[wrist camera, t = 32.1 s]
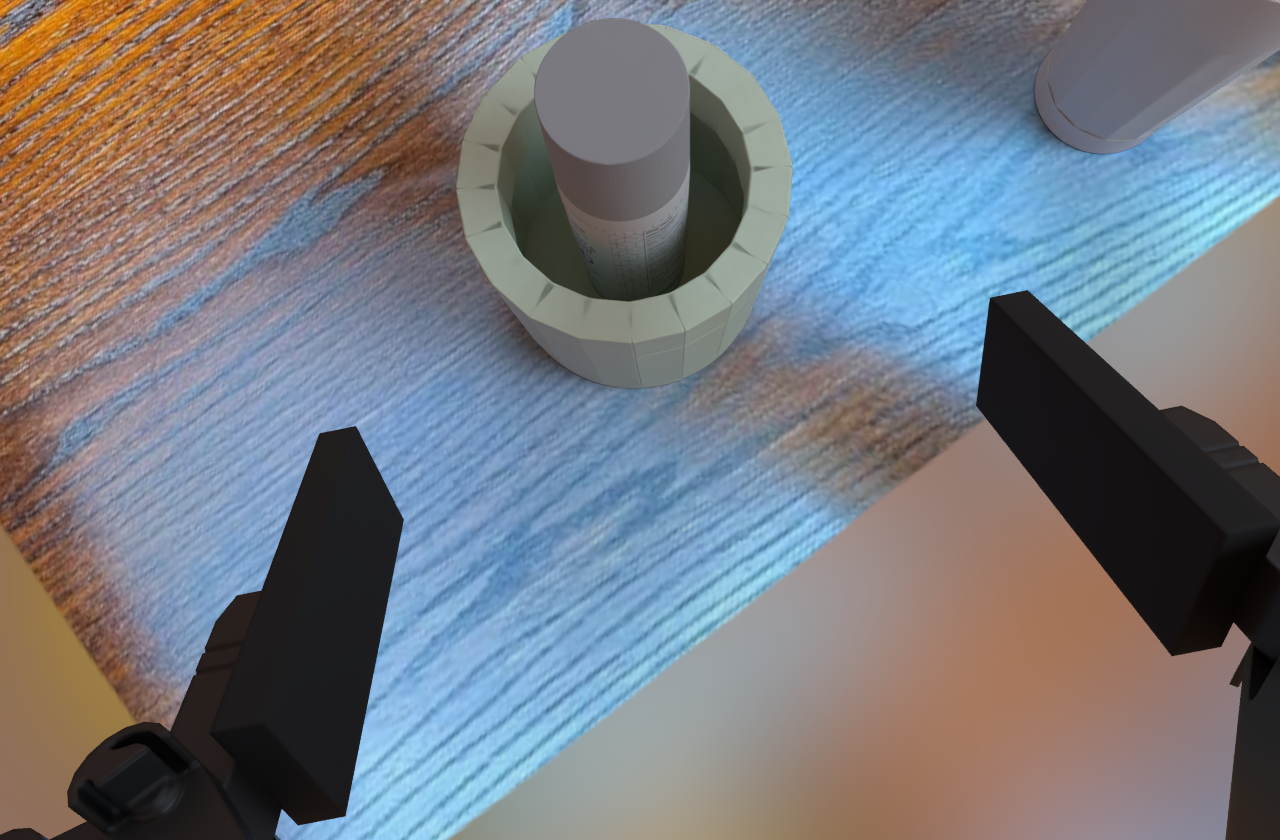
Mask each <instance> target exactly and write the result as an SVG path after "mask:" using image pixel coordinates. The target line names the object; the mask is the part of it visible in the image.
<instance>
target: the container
mask: <svg viewBox="0 0 1280 840" xmlns="http://www.w3.org/2000/svg"><path fill="white" fill-rule="evenodd" d="M534 102H535V108H536V112H537V116H538V119H539V123H540V126H541V130H542V133H543V137H544V141H545V144H546V148H547V151H548V155H549V158H550V162H551V165H552V169H553V172H554V176H555V179H556V184H557V187H558V191H559V193H560V196H561V199H562V202H563V205H564V208H565V211H566V213H567V216H568V219H569V222H570V225H571V228H572V231H573V234H574V236H575V239H576V242H577V245H578V248H579V251H580V254H581V256H582V259H583V262H584V265H585V268H586V271H587V274H588V276H589V279H590V281H591V283H592V285H593V287H594V289H595V290H596V292H597V293H598V294H599V295H600V296H601V297H602V298H603V299H606V300H617V301H628V302H631V301H635V300H640V299H645V298H649V297H654V296H658V295H663V294H667V293H670V292H672V291H674V290H675V289H677V287H678V285H679V283H680V281H681V279H682V276H683V271H684V264H685V248H686V231H687V214H688V197H689V179H690V84H689V77H688V72H687V69H686V66H685V63H684V61H683V59H682V57H681V55H680V54H679V52H678V51H677V49H676V48H675V47H674V45H673V44H672V43H671V42H670V41H669V40H668V39H667V38H666V37H665V36H663V35H662V34H661V33H659V32H658V31H656V30H655V29H653V28H651V27H650V26H647V25H645V24H642V23H640V22H637V21H633V20H628V19H619V18H608V19H600V20H595V21H591V22H588V23H585V24H582V25H580V26H578V27H576V28H574V29H573V30H571V31H569V32H568V33H566V34H565V35H563V36H562V37H561V38H560V39H559V40H558V41H557V42H556V43H555V44H554V45H553V46H552V47H551V48H550V50H549V51H548V52H547V54H546V55H545V57H544V58H543V60H542V62H541V64H540V67H539V69H538V72H537V75H536V80H535V85H534Z"/></svg>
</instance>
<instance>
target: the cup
mask: <svg viewBox="0 0 1280 840" xmlns="http://www.w3.org/2000/svg"><path fill="white" fill-rule="evenodd" d="M1278 50H1280V0H1087V1H1086V3H1085V4H1084V6H1083V7H1082V9H1081V10H1080V12H1079V13H1078V15H1077V16H1076V18H1075V19H1074V21H1073V22H1072V23H1071V25H1070V26H1069V28H1068V29H1067V31H1066V32H1065V34H1064V35H1063V37H1062V38H1061V39H1060V40H1059V41H1058V43H1057V44H1056V45H1055V46H1054V48H1053V49H1052V50H1051V51H1050V52H1049V54H1048V55H1047V56H1046V57H1045V59H1044V60H1043V62H1042V64H1041V66H1040V68H1039V70H1038V73H1037V76H1036V80H1035V100H1036V105H1037V108H1038V111H1039V113H1040V116H1041V118H1042V119H1043V121H1044V123H1045V124H1046V125H1047V127H1048V128H1049V129H1050V130H1051V131H1052V132H1053V133H1054V134H1055V135H1056V136H1057V137H1058V138H1059V139H1061V140H1062V141H1063V142H1065V143H1067V144H1068V145H1070V146H1072V147H1074V148H1077V149H1079V150H1082V151H1086V152H1090V153H1097V154H1111V153H1118V152H1122V151H1125V150H1128V149H1131V148H1133V147H1135V146H1137V145H1139V144H1140V143H1142V142H1143V141H1145V140H1146V139H1147V138H1148V137H1150V136H1151V135H1152V134H1153V133H1155V132H1156V131H1157V130H1159V129H1160V128H1161V127H1162V126H1164V125H1165V124H1167V123H1168V122H1170V121H1171V120H1173V119H1175V118H1176V117H1178V116H1179V115H1181V114H1182V113H1184V112H1185V111H1187V110H1188V109H1190V108H1191V107H1193V106H1194V105H1196V104H1197V103H1199V102H1201V101H1202V100H1204V99H1205V98H1207V97H1208V96H1210V95H1211V94H1213V93H1214V92H1216V91H1217V90H1219V89H1220V88H1222V87H1223V86H1225V85H1226V84H1228V83H1230V82H1231V81H1233V80H1234V79H1236V78H1237V77H1239V76H1240V75H1242V74H1243V73H1245V72H1246V71H1248V70H1249V69H1251V68H1252V67H1254V66H1256V65H1257V64H1259V63H1260V62H1262V61H1263V60H1265V59H1266V58H1268V57H1269V56H1271V55H1272V54H1274V53H1275V52H1277V51H1278Z"/></svg>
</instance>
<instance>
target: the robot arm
mask: <svg viewBox="0 0 1280 840" xmlns="http://www.w3.org/2000/svg"><path fill="white" fill-rule="evenodd" d="M976 406H977V407H978V409H979V410H980V411H981V412H982V414H983V415H984V416H985V418H986V419H987V420H988V421H989V423H990V424H991V425H992V426H993V428H994V429H995V430H996V431H997V433H998V434H999V435H1000V437H1001V438H1002V439H1003V441H1004V442H1005V443H1006V444H1007V446H1008V447H1009V448H1010V450H1011V451H1012V452H1013V453H1014V454H1015V456H1016V457H1017V458H1018V460H1019V461H1020V462H1021V464H1022V465H1023V466H1024V467H1025V469H1026V470H1027V471H1028V472H1029V474H1030V475H1031V476H1032V478H1033V479H1034V480H1035V481H1036V483H1037V484H1038V485H1039V487H1040V488H1041V489H1042V491H1043V492H1044V493H1045V494H1046V496H1047V497H1048V498H1049V499H1050V501H1051V502H1052V503H1053V505H1054V506H1055V507H1056V508H1057V510H1058V511H1059V512H1060V514H1061V515H1062V516H1063V517H1064V519H1065V520H1066V521H1067V523H1068V524H1069V525H1070V526H1071V528H1072V529H1073V530H1074V531H1075V533H1076V534H1077V535H1078V536H1079V538H1080V539H1081V540H1082V542H1083V543H1084V544H1085V546H1086V547H1087V548H1088V549H1089V551H1090V552H1091V553H1092V554H1093V556H1094V557H1095V558H1096V560H1097V561H1098V562H1099V563H1100V565H1101V566H1102V567H1103V569H1104V570H1105V571H1106V572H1107V574H1108V575H1109V576H1110V578H1111V579H1112V580H1113V581H1114V583H1115V584H1116V585H1117V586H1118V588H1119V589H1120V590H1121V592H1122V593H1123V594H1124V595H1125V597H1126V598H1127V599H1128V601H1129V602H1130V603H1131V604H1132V605H1133V607H1134V608H1135V610H1136V611H1137V612H1138V613H1139V615H1140V616H1141V617H1142V619H1143V620H1144V621H1145V622H1146V624H1147V625H1148V626H1149V627H1150V629H1151V630H1152V631H1153V633H1154V634H1155V635H1156V636H1157V638H1158V639H1159V640H1160V642H1161V643H1162V644H1163V645H1164V647H1165V648H1166V649H1167V650H1168V652H1169V653H1170V654H1171V656H1175V655H1181V654H1186V653H1191V652H1197V651H1201V650H1207V649H1212V648H1217V647H1221V646H1222V644H1223V642H1224V640H1225V638H1226V636H1227V634H1228V632H1229V630H1230V628H1231V626H1232V624H1233V622H1234V623H1235V624H1236V625H1237V626H1238V627H1239V629H1240V630H1241V631H1242V632H1243V633H1244V634H1245V635H1246V636H1247V637H1248V639H1249V640H1250V641H1251V644H1250V645H1249V647H1248V649H1247V651H1246V653H1245V655H1244V657H1243V659H1242V660H1241V662H1240V664H1239V666H1238V668H1237V670H1236V672H1235V674H1234V676H1233V678H1232V680H1231V682H1230V685H1233V686H1236V687H1239V685H1240V683H1241V681H1242V687H1241V697H1240V706H1239V716H1238V725H1237V735H1236V744H1235V754H1234V763H1233V773H1232V782H1231V793H1230V801H1229V811H1228V820H1227V830H1226V840H1280V477H1279V476H1278V475H1277V474H1276V473H1275V472H1273V471H1272V470H1271V469H1270V468H1269V467H1267V465H1265V464H1264V463H1259V462H1258V458H1257V457H1256V456H1255V455H1254V454H1252V453H1251V452H1250V451H1249V450H1248V449H1247V448H1245V447H1244V446H1239V442H1238V441H1237V440H1236V439H1235V438H1234V437H1232V436H1231V435H1230V434H1229V433H1228V432H1227V431H1225V430H1224V429H1223V428H1222V427H1221V426H1219V425H1218V424H1217V423H1216V422H1215V421H1213V420H1211V419H1209V418H1207V417H1204V416H1202V415H1200V414H1198V413H1196V412H1194V411H1192V410H1189V409H1188V408H1185V407H1183V406H1178V407H1173V408H1168V409H1164V410H1158V409H1157V408H1156V407H1155V406H1154V405H1153V404H1152V403H1151V402H1150V401H1148V400H1147V399H1146V398H1145V397H1144V396H1143V395H1142V394H1141V393H1140V392H1139V391H1138V390H1137V389H1135V388H1134V387H1133V386H1132V385H1131V384H1130V383H1129V382H1128V381H1127V380H1125V379H1124V378H1123V377H1122V376H1121V375H1120V374H1119V373H1118V372H1117V371H1116V370H1115V369H1113V368H1112V367H1111V366H1110V365H1109V364H1108V363H1107V362H1106V361H1105V360H1104V359H1102V358H1101V357H1100V356H1099V355H1098V354H1097V353H1096V352H1095V351H1094V350H1093V349H1091V348H1090V347H1089V346H1088V345H1087V344H1086V343H1085V342H1084V341H1083V340H1082V339H1081V338H1079V337H1078V336H1077V335H1076V334H1075V333H1074V332H1073V331H1072V330H1071V329H1070V328H1068V327H1067V326H1066V325H1065V324H1064V323H1063V322H1062V321H1061V320H1060V319H1059V318H1057V317H1056V316H1055V315H1054V314H1053V313H1052V312H1051V311H1050V310H1049V309H1048V308H1046V307H1045V306H1044V305H1043V304H1042V303H1041V302H1040V301H1039V300H1038V299H1037V298H1036V297H1034V296H1033V295H1032V294H1031V293H1030V292H1029V291H1028V290H1026V291H1021V292H1016V293H1011V294H1006V295H1002V296H997V297H992V298H990V302H989V309H988V317H987V325H986V333H985V340H984V348H983V356H982V364H981V371H980V379H979V387H978V395H977V402H976ZM403 521H404V519H403V517H402V515H401V514H400V512H399V510H398V508H397V506H396V504H395V502H394V500H393V498H392V496H391V494H390V492H389V490H388V488H387V486H386V484H385V482H384V480H383V478H382V476H381V474H380V472H379V470H378V468H377V466H376V464H375V463H374V461H373V459H372V457H371V455H370V453H369V451H368V449H367V447H366V445H365V443H364V441H363V439H362V437H361V435H360V433H359V431H358V429H357V427H356V426H354V427H349V428H344V429H339V430H334V431H329V432H324V433H319V436H318V439H317V442H316V444H315V447H314V450H313V452H312V455H311V458H310V461H309V463H308V466H307V469H306V471H305V474H304V477H303V480H302V482H301V485H300V488H299V490H298V493H297V496H296V499H295V501H294V504H293V507H292V509H291V512H290V515H289V518H288V520H287V523H286V526H285V528H284V531H283V534H282V537H281V539H280V542H279V545H278V547H277V550H276V553H275V556H274V558H273V561H272V564H271V566H270V569H269V572H268V574H267V577H266V580H265V583H264V585H263V588H262V591H257V592H252V593H247V594H242V595H237V596H236V597H235V599H234V600H233V601H232V602H231V603H230V605H229V606H228V607H227V608H226V610H225V611H224V612H223V613H222V614H221V616H220V617H219V618H218V619H217V621H216V622H215V625H214V627H213V629H212V632H211V634H210V637H209V639H208V642H207V644H206V646H205V653H203V654H202V656H201V658H200V661H199V663H198V666H197V668H196V672H197V673H196V675H194V676H193V678H192V680H191V683H190V685H189V688H188V690H187V692H186V695H185V697H184V700H183V702H182V704H181V707H180V709H179V712H178V714H177V717H176V719H175V721H174V724H173V726H172V729H171V731H168V730H167V729H166V728H165V727H164V726H162V725H161V724H160V723H151V722H142V723H139V724H136V725H132V726H129V727H126V728H124V729H122V730H120V731H119V732H117V733H115V734H113V735H112V736H110V737H108V738H107V739H105V740H104V741H103V742H102V743H101V744H100V745H99V746H98V747H96V748H95V749H94V750H93V751H92V752H91V753H90V754H89V755H88V756H87V757H86V759H85V760H84V761H83V763H82V764H81V765H80V767H79V768H78V769H77V771H76V772H75V773H74V776H73V778H72V781H71V783H70V786H69V789H68V791H67V794H68V807H69V808H71V809H72V810H73V811H74V812H76V813H77V814H78V815H80V816H81V817H82V818H84V819H85V820H87V822H85V823H83V824H80V825H78V826H76V827H74V828H72V829H71V830H68V831H66V832H64V833H62V834H61V835H58V836H56V837H54V838H52V839H50V840H280V839H279V838H278V837H277V836H276V835H275V832H276V828H277V824H278V820H279V817H280V813H281V809H283V810H284V811H285V812H286V813H287V814H288V816H289V817H290V818H291V819H292V820H293V821H294V822H295V823H296V824H297V825H303V824H308V823H313V822H318V821H323V820H329V819H334V818H339V817H344V816H346V811H347V806H348V800H349V795H350V790H351V785H352V780H353V775H354V770H355V765H356V760H357V755H358V750H359V745H360V740H361V734H362V729H363V724H364V719H365V714H366V709H367V704H368V699H369V694H370V689H371V684H372V679H373V674H374V669H375V663H376V658H377V653H378V648H379V643H380V638H381V633H382V628H383V623H384V618H385V613H386V608H387V603H388V597H389V592H390V587H391V582H392V577H393V572H394V567H395V562H396V557H397V552H398V547H399V542H400V537H401V532H402V526H403ZM0 840H48V839H47V838H45V837H44V836H43V835H41V834H40V833H38V832H36V831H35V830H33V829H31V828H23V829H13V830H11V831H8V832H6V833H3V834H1V835H0Z"/></svg>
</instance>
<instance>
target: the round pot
mask: <svg viewBox="0 0 1280 840" xmlns="http://www.w3.org/2000/svg"><path fill="white" fill-rule="evenodd" d="M645 25H647V26H650V27H651V28H653V29H655V30H656V31H658V32H659V33H661V34H662V35H663V36H665V37H666V38H667V39H668V40H669V41H670V42H671V43H672V44H673V45H674V47H675V48H676V49H677V51H678V52H679V54H680V55H681V57H682V59H683V61H684V63H685V66H686V69H687V72H688V77H689V84H690V179H689V197H688V214H687V231H686V248H685V264H684V271H683V276H682V279H681V281H680V283H679V285H678V287H677V289H675V290H674V291H672V292H670V293H667V294H663V295H658V296H654V297H649V298H645V299H640V300H635V301H631V302H628V301H617V300H606V299H603V298H602V297H601V296H600V295H599V294H598V293H597V292H596V290H595V289H594V287H593V285H592V283H591V281H590V279H589V276H588V274H587V271H586V268H585V265H584V262H583V259H582V256H581V254H580V251H579V248H578V245H577V242H576V239H575V236H574V234H573V231H572V228H571V225H570V222H569V219H568V216H567V213H566V211H565V208H564V205H563V202H562V199H561V196H560V193H559V191H558V187H557V184H556V179H555V176H554V172H553V169H552V165H551V162H550V158H549V155H548V151H547V148H546V144H545V141H544V137H543V133H542V130H541V126H540V123H539V119H538V116H537V112H536V108H535V102H534V85H535V80H536V75H537V72H538V69H539V67H540V64H541V62H542V60H543V58H544V57H545V55H546V54H547V52H548V51H549V50H550V48H551V47H552V46H553V45H554V44H555V43H556V42H557V41H558V40H559V39H560V38H561V37H562V36H563V35H565V34H561V35H560V36H558V37H556V38H554V39H553V40H551V41H549V42H547V43H545V44H544V45H542V46H540V47H538V48H537V49H535V50H533V51H531V52H529V53H528V54H526V55H524V56H522V57H521V59H519V60H518V61H517V62H516V63H515V64H514V65H513V66H512V67H511V68H510V69H509V70H508V71H507V72H506V73H505V74H504V75H503V76H502V77H501V78H500V80H499V81H498V82H497V83H496V84H495V85H494V86H493V87H492V88H491V89H490V90H489V91H488V92H487V93H486V95H484V97H483V99H482V101H481V103H480V105H479V107H478V109H477V111H476V113H475V115H474V117H473V119H472V121H471V123H470V125H469V127H468V129H467V131H466V133H465V136H464V138H463V142H462V149H461V156H460V163H459V170H458V177H457V184H456V189H457V191H456V194H457V199H458V205H459V210H460V215H461V221H462V226H463V231H464V236H465V238H466V242H467V244H468V245H469V247H470V249H471V251H472V253H473V254H474V256H475V258H476V260H477V261H478V263H479V265H480V267H481V268H482V270H483V272H484V274H485V275H486V277H487V279H488V281H489V282H490V283H491V285H492V286H493V287H494V289H495V290H496V291H497V292H498V294H499V295H500V296H501V298H502V299H503V300H504V301H505V303H506V304H507V305H508V307H509V308H510V309H511V310H512V312H513V313H514V314H515V316H516V317H517V318H518V319H519V321H520V322H521V323H522V325H523V326H524V327H525V328H526V330H527V331H528V332H529V334H530V335H531V336H532V337H533V339H534V340H535V341H536V342H537V343H538V344H539V345H540V346H541V347H542V348H543V349H544V350H545V351H546V352H547V353H548V354H549V355H550V356H551V357H553V358H554V359H555V360H556V361H557V362H558V363H560V364H561V365H562V366H564V367H565V368H567V369H569V370H570V371H572V372H573V373H575V374H577V375H579V376H581V377H583V378H586V379H588V380H591V381H594V382H597V383H600V384H603V385H608V386H613V387H618V388H633V389H637V388H651V387H657V386H662V385H666V384H670V383H673V382H676V381H679V380H682V379H684V378H686V377H688V376H690V375H692V374H694V373H696V372H698V371H700V370H701V369H703V368H704V367H706V366H707V365H709V364H710V363H712V362H713V361H714V360H715V359H717V358H718V357H719V356H720V355H721V354H722V353H723V352H724V351H725V350H726V349H727V348H728V347H729V346H730V345H731V343H732V342H733V341H734V340H735V339H736V337H737V336H738V334H739V333H740V332H741V330H742V329H743V327H744V326H745V324H746V321H747V319H748V317H749V315H750V312H751V310H752V308H753V305H754V303H755V301H756V299H757V296H758V294H759V291H760V289H761V286H762V284H763V281H764V279H765V276H766V274H767V271H768V269H769V266H770V264H771V261H772V259H773V256H774V254H775V251H776V248H777V246H778V243H779V241H780V238H781V236H782V233H783V231H784V228H785V226H786V223H787V221H788V216H789V207H790V196H791V184H792V172H793V169H792V162H791V158H790V154H789V150H788V146H787V142H786V138H785V134H784V130H783V126H782V122H781V120H780V116H779V114H778V113H777V111H776V110H775V108H774V107H773V105H772V104H771V102H770V101H769V99H768V97H767V96H766V94H765V93H764V91H763V90H762V88H761V87H760V85H759V84H758V82H757V81H756V79H755V77H754V76H753V75H752V74H751V73H750V72H748V71H747V70H746V69H745V68H743V67H742V66H741V65H740V64H738V63H737V62H736V61H735V60H733V59H732V58H731V57H730V56H728V55H727V54H726V53H725V52H723V51H722V50H721V49H720V48H719V47H717V46H716V45H715V44H712V43H710V42H707V41H705V40H702V39H700V38H697V37H694V36H692V35H689V34H687V33H684V32H681V31H679V30H676V29H674V28H671V27H668V26H666V27H665V26H664V25H653V24H645Z"/></svg>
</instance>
